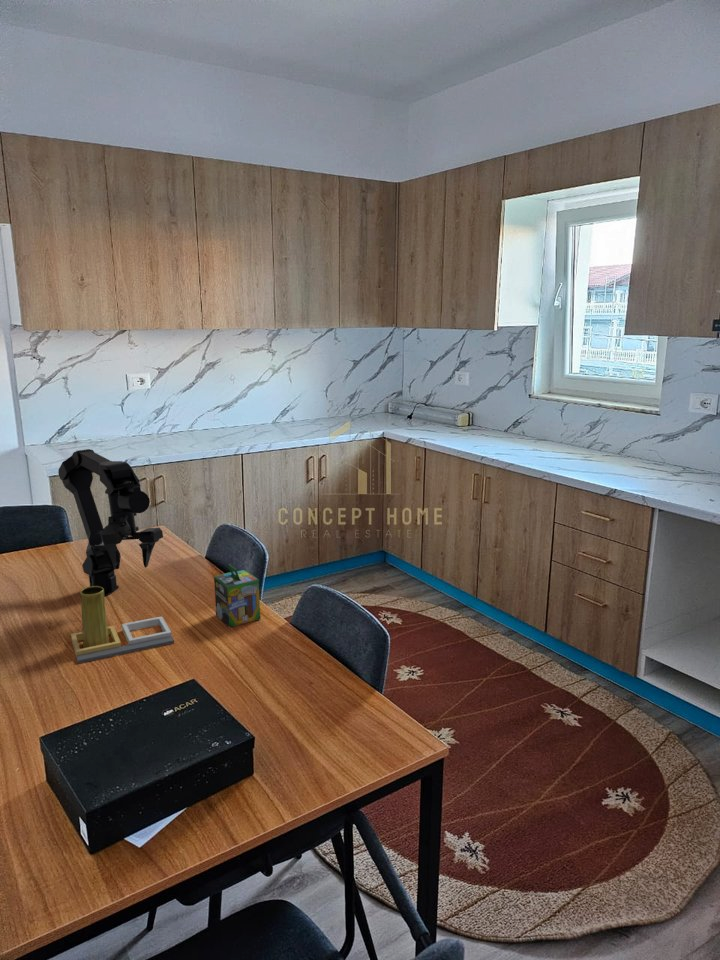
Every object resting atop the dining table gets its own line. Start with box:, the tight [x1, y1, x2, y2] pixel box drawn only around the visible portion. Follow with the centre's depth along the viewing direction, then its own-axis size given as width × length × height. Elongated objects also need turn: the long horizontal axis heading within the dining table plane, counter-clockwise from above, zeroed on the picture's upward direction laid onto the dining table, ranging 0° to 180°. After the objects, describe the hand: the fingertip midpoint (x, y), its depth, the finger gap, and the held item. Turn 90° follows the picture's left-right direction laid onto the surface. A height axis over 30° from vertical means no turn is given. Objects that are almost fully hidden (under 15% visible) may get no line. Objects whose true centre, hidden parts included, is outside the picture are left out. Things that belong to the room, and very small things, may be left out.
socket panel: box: [70, 616, 175, 664], centre depth 167 cm, size 22×12×2 cm, turn 118°
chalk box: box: [213, 563, 261, 628], centre depth 180 cm, size 9×9×15 cm
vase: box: [79, 585, 111, 648], centre depth 164 cm, size 6×6×14 cm
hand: (130, 567), depth 182 cm, fingers open, 9 cm apart
